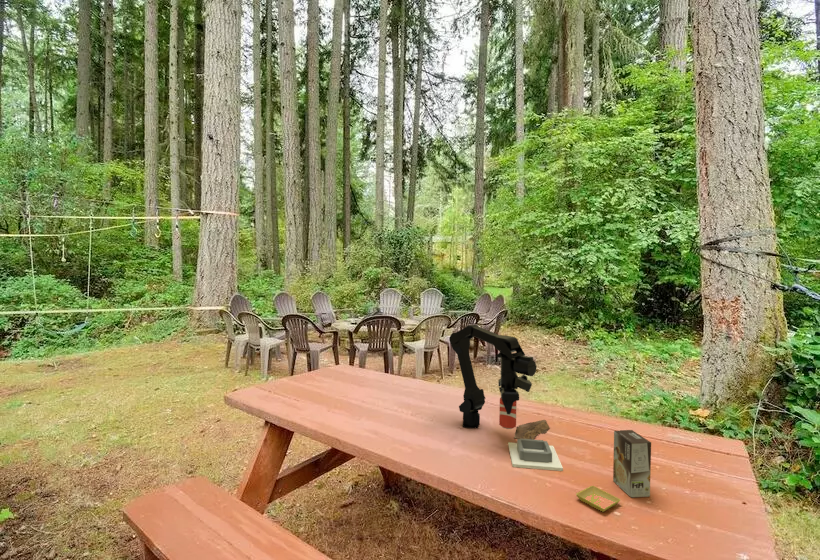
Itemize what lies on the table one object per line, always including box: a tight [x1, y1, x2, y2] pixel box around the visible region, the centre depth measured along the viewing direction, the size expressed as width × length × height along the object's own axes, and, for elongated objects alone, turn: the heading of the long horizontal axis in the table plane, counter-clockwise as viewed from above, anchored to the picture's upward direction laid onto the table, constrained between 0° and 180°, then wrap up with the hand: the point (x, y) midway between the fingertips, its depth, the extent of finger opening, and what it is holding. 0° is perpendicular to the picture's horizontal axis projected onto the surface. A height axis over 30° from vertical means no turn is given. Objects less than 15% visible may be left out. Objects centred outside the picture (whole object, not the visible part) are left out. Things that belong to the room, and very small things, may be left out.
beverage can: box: [498, 397, 517, 430], centre depth 150 cm, size 6×6×12 cm
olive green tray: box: [575, 485, 621, 513], centre depth 112 cm, size 9×9×2 cm
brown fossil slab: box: [513, 419, 551, 440], centre depth 161 cm, size 26×11×1 cm, turn 133°
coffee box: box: [612, 429, 652, 498], centre depth 118 cm, size 9×6×16 cm
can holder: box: [507, 439, 564, 472], centre depth 137 cm, size 16×16×4 cm
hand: (507, 410), depth 150 cm, fingers closed on beverage can, 6 cm apart
